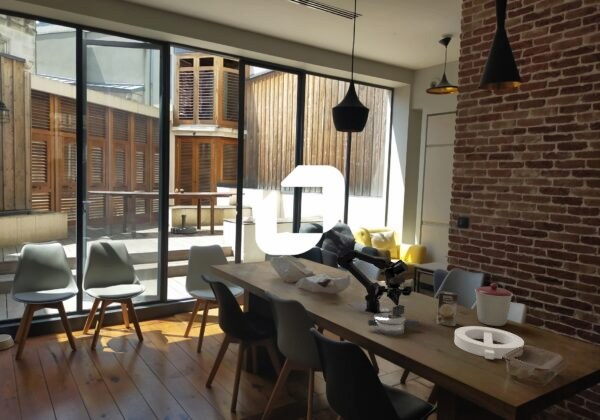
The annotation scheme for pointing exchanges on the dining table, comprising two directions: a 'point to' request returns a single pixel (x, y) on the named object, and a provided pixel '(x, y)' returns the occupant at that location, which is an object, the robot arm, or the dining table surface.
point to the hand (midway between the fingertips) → (397, 305)
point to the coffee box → (447, 308)
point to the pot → (391, 327)
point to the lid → (391, 316)
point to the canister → (493, 305)
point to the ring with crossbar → (486, 341)
